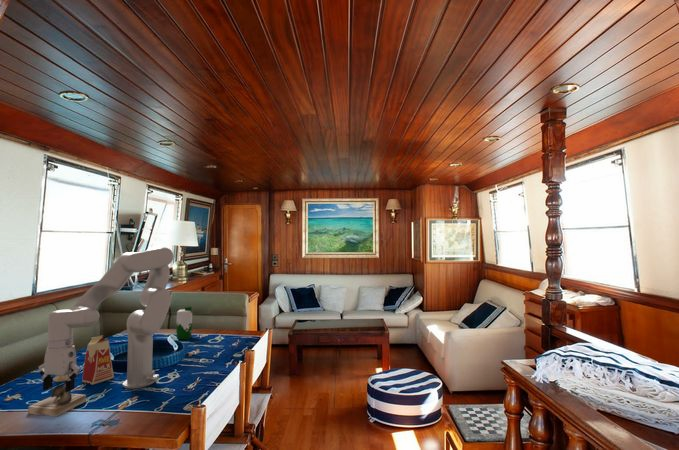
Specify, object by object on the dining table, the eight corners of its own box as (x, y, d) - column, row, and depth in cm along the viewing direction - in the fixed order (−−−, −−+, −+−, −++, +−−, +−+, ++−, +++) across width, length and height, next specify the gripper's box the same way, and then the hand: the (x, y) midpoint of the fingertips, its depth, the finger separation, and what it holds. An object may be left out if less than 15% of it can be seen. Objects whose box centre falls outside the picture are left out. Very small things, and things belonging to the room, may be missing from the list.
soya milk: (190, 339, 224) (191, 307, 225) (175, 340, 222) (175, 308, 223) (192, 336, 233) (193, 305, 234) (177, 337, 230) (178, 306, 231)
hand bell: (63, 382, 156) (64, 345, 156) (48, 381, 157) (49, 344, 158) (80, 375, 164) (81, 340, 164) (65, 374, 165) (67, 339, 166)
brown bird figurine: (41, 398, 130) (44, 401, 124) (55, 378, 134) (58, 380, 128) (63, 405, 134) (67, 408, 128) (75, 385, 138) (80, 387, 132)
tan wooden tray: (85, 401, 137) (86, 394, 137) (56, 416, 125) (56, 408, 125) (59, 399, 139) (59, 392, 139) (27, 413, 127) (28, 406, 127)
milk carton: (114, 377, 161) (115, 333, 162) (92, 385, 153) (94, 338, 154) (101, 374, 165) (102, 331, 166) (80, 381, 157) (81, 335, 158)
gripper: (88, 341, 135) (87, 387, 135) (50, 339, 138) (48, 384, 137) (71, 347, 128) (69, 395, 127) (30, 345, 131) (28, 392, 130)
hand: (58, 389), depth 132 cm, fingers open, 9 cm apart
